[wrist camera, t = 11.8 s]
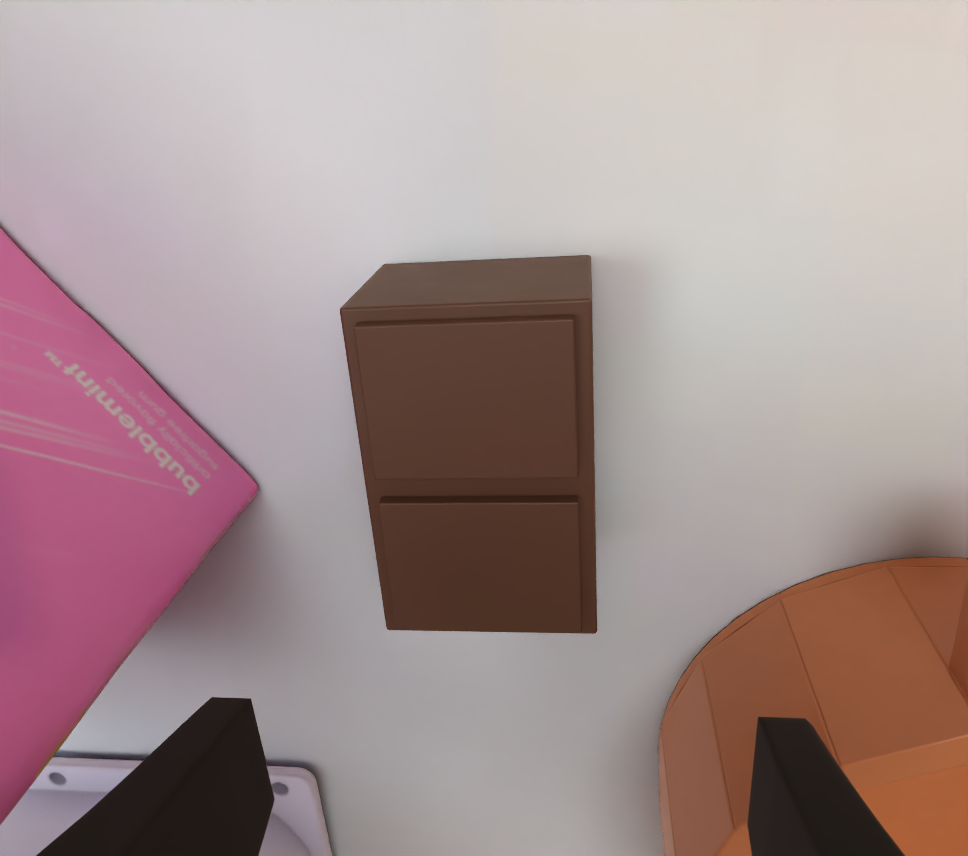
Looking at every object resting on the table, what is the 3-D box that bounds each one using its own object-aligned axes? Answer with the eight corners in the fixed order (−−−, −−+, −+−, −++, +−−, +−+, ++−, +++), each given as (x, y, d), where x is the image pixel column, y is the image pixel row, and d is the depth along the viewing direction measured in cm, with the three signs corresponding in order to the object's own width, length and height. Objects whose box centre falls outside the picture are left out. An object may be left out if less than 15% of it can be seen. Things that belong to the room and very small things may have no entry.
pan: (652, 958, 26) (668, 1170, 21) (665, 454, 18) (694, 598, 13) (1079, 987, 24) (1205, 1226, 19) (1279, 446, 17) (1567, 607, 12)
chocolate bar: (416, 543, 20) (383, 640, 17) (382, 263, 17) (333, 313, 14) (595, 543, 19) (597, 644, 16) (590, 254, 17) (592, 303, 13)
